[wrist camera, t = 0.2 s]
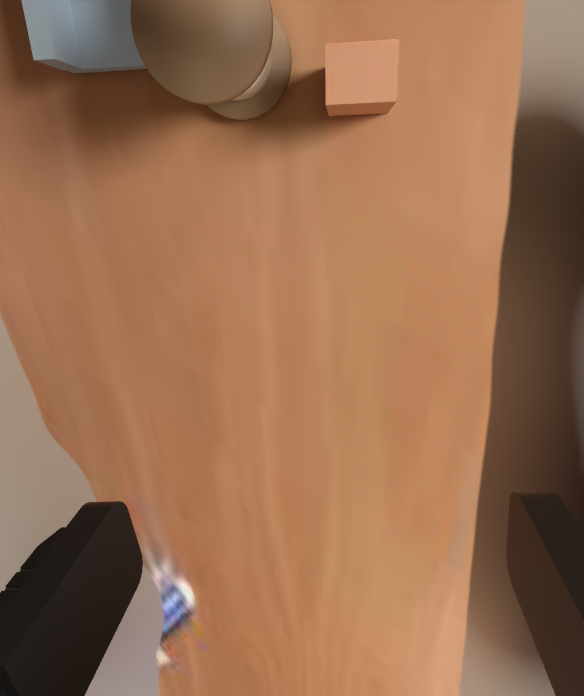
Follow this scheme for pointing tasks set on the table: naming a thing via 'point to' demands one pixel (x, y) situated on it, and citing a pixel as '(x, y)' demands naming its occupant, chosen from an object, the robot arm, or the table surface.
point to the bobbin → (215, 52)
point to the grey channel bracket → (82, 35)
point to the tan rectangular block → (361, 77)
